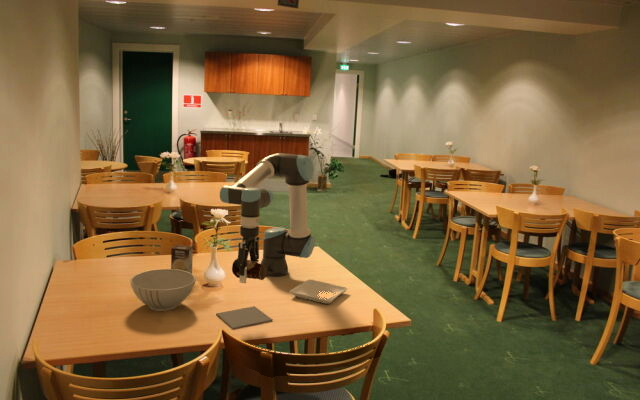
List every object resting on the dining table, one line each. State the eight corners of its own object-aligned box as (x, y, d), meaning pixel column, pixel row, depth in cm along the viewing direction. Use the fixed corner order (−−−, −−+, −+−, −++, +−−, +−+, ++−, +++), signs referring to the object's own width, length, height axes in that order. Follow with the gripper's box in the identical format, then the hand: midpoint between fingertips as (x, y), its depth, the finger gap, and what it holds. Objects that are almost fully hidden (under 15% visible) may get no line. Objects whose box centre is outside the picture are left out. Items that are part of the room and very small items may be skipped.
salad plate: (348, 293, 269) (348, 287, 269) (329, 308, 251) (330, 300, 250) (308, 285, 278) (309, 278, 277) (288, 298, 259) (288, 291, 258)
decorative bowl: (136, 322, 224) (136, 293, 221) (125, 298, 247) (125, 272, 245) (202, 313, 236) (203, 285, 234) (186, 291, 259) (186, 266, 257)
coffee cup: (268, 259, 232) (241, 254, 236) (259, 264, 224) (231, 258, 229) (267, 279, 233) (240, 274, 238) (258, 284, 226) (230, 279, 230)
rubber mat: (254, 307, 245) (254, 306, 245) (272, 320, 232) (272, 319, 232) (216, 314, 235) (216, 313, 235) (232, 329, 222) (232, 327, 222)
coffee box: (170, 279, 273) (170, 248, 270) (174, 275, 279) (175, 244, 276) (188, 281, 272) (188, 249, 269) (192, 277, 278) (193, 246, 275)
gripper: (246, 232, 217) (243, 288, 221) (269, 222, 236) (266, 274, 240) (228, 229, 220) (227, 285, 224) (253, 220, 238) (250, 271, 243)
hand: (247, 279), depth 232 cm, fingers closed on coffee cup, 7 cm apart
